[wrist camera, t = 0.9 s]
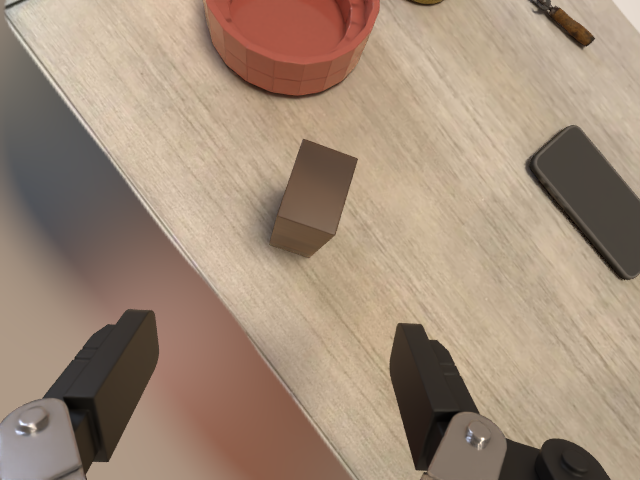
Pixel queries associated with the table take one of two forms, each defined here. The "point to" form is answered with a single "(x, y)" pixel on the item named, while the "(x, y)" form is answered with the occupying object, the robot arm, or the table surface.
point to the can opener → (568, 23)
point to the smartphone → (593, 197)
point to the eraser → (313, 199)
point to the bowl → (291, 40)
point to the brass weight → (427, 1)
